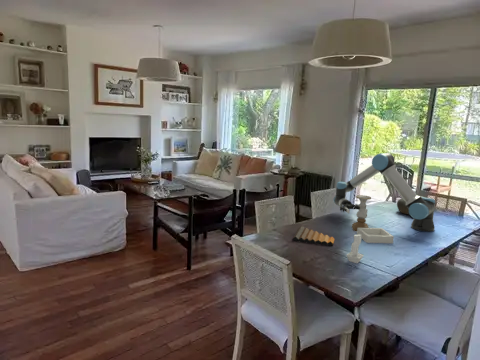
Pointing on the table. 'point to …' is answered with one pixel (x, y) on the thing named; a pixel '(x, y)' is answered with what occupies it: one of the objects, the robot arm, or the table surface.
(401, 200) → the gourd
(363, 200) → the candle holder
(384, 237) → the rimmed tray
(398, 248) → the table surface
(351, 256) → the figurine
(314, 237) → the pan flute
